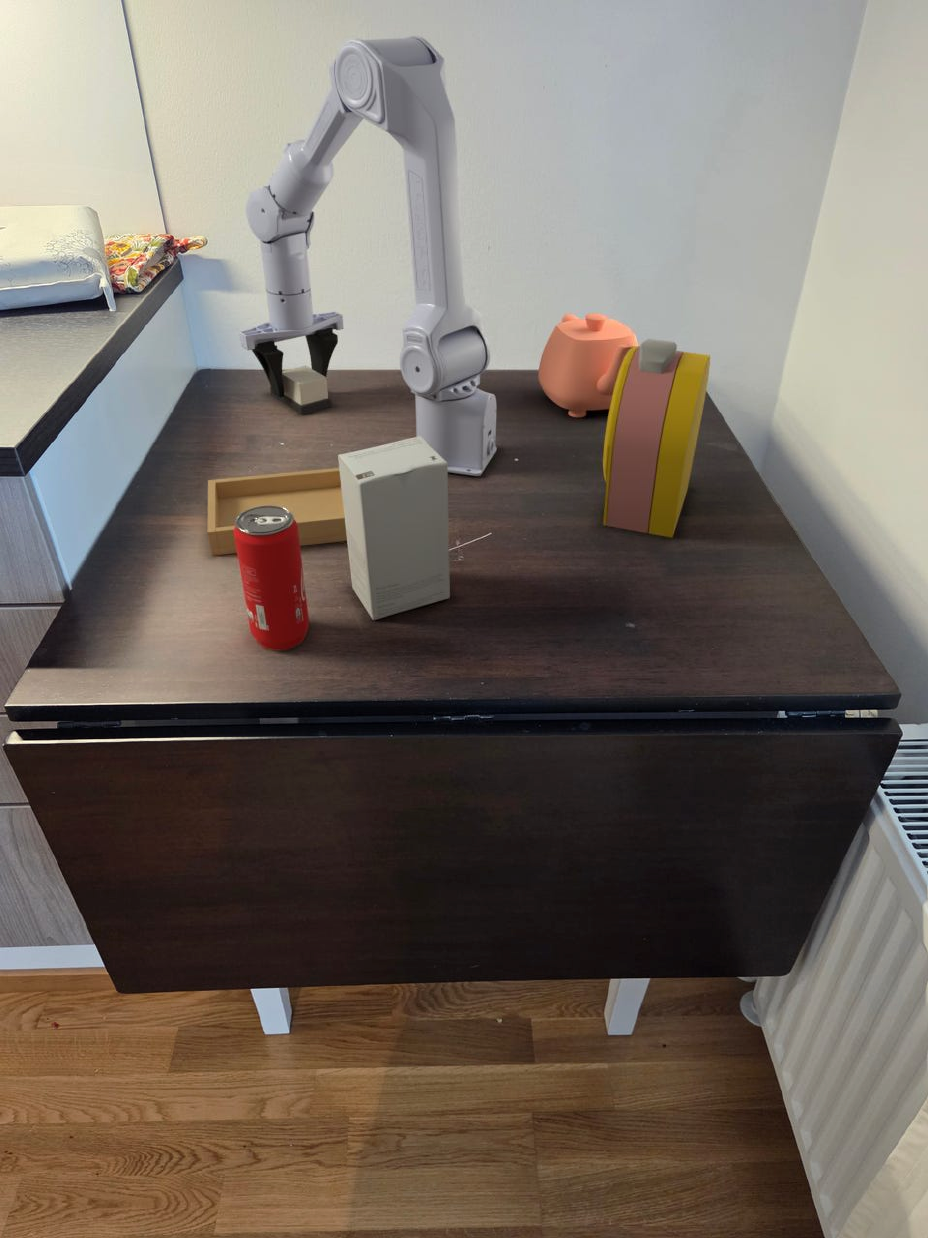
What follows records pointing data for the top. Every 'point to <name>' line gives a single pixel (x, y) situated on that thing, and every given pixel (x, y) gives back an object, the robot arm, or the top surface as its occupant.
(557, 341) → the teapot
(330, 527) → the tray
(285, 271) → the robot arm
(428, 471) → the cosmetic box
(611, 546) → the top surface
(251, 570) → the beverage can
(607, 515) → the alarm clock
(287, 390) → the two-tone beige block
